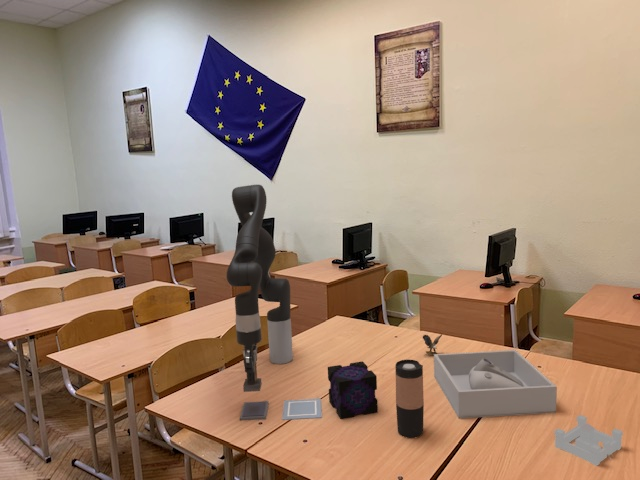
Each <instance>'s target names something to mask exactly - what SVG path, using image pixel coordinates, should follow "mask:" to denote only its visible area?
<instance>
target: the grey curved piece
mask: <svg viewBox="0 0 640 480" xmlns="http://www.w3.org/2000/svg"><path fill="white" fill-rule="evenodd" d="M469 383H470V387H471V389H472V390H476V389H494V388H512V387H525V386H524V384H523V383H522V382H521V381H520V380H519V379H517V378H516V377H514V376H513V375H511V374H509V373H508V372H506V371H504V370H502V368H499V367H497V366H495V365H493V363H492V362H491V361H490V360H488V359H485V358H483V359H482V360H481V361H480V362H479V363H478V364H477V365H476V366H475V367H473V368H472V369H471V371H470V373H469Z"/></svg>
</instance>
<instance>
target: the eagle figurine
mask: <svg viewBox="0 0 640 480" xmlns="http://www.w3.org/2000/svg"><path fill="white" fill-rule="evenodd" d="M442 336H443V334H442V333H441V334H440V335H438V336H437V337H436V338H434V340H432V339H431V336H429V335H428V334H423V336H422V339H423V341H424V344H425V345H426V348H427V349H429V350H428V351H427V350H425V353H426V354H423V357H424V356H429V355H434V354H439V353H438V352H437V351H436V349H437V350H438V347H437V346H436V345H438V343H439V340H440V339H441V338H442ZM432 349H433V351H432Z"/></svg>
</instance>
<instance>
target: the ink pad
mask: <svg viewBox="0 0 640 480" xmlns="http://www.w3.org/2000/svg"><path fill="white" fill-rule="evenodd" d="M269 404H270V403H269V400H262V401H248V402H247V401H245V402H243V405H242V407H241V408H242V409H241V412H240V416H239V421H253V420H254V421H255V420H256V421H257V420H258V421H259V420H266V419H267V418H268V417H267V415H268V409H269Z"/></svg>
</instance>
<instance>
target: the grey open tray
mask: <svg viewBox="0 0 640 480" xmlns="http://www.w3.org/2000/svg"><path fill="white" fill-rule="evenodd" d="M483 358H485V359H488V360H490V361H491V362H492V363H493V365H495V366H497V367H499V368H502V370H504V371H506V372H508V373H509V374H511V375H513V376H514V377H516V378H517V379H519V380H520V381H521V382H522V383H523V384H524V386H525V387H512V388H494V389H476V390H472V389H471V387H470V383H469V373H470V371H471V369H472V368H473V367H475V366H476V365H477V364H478V363H479V362H480V361H481V360H482V359H483ZM433 377H434V379H435V380H436V382H437V384H438V385H439V388H440V389H441V391H442V393H443V394H444V396H445V397H446V399H447V401H448V403H449V404H450V406H451V408H452V409H453V411H454V413H455V414H456V416H457V418H458V419H471V418H472V419H473V418H489V417H490V418H491V417H506V416H507V417H509V416H512V417H513V416H523V415H524V416H526V415H541V414H556V413H557V394H558V393H557V392H558V391H557V389H558V387H557V385H556V384H555V383H554V382H553V381H551V380H550V379H549V378H548V377H547V376H545V375H544V374H543V373H542V372H541V371H540V370H539V369H537V367H536V366H535V365H533V364H532V363H531V361H529V360H528V359H526V358H525V357H524V356H523V355H522V354H521V353H520V352H518V350H517V349H509V350H490V351H489V350H488V351H473V352H472V351H471V352H452V353H438V354H433Z"/></svg>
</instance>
